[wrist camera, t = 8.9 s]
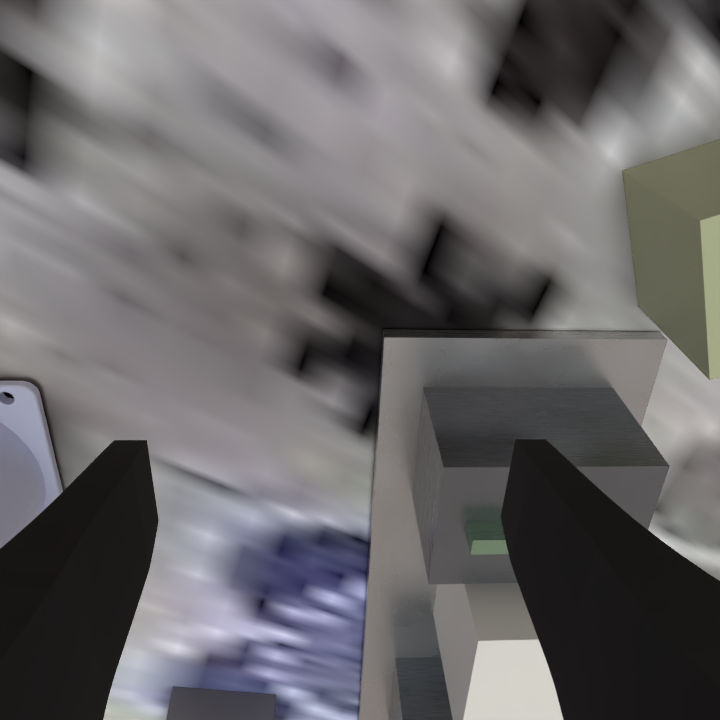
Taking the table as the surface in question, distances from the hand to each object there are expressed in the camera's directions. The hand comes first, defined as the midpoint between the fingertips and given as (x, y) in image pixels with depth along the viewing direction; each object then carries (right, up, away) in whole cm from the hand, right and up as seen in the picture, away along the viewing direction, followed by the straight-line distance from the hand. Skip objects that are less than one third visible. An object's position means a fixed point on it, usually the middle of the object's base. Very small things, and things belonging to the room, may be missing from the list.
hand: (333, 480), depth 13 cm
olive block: (+11, +7, +9) cm, 16 cm away
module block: (+6, -6, +15) cm, 18 cm away
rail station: (+6, -7, +16) cm, 19 cm away
